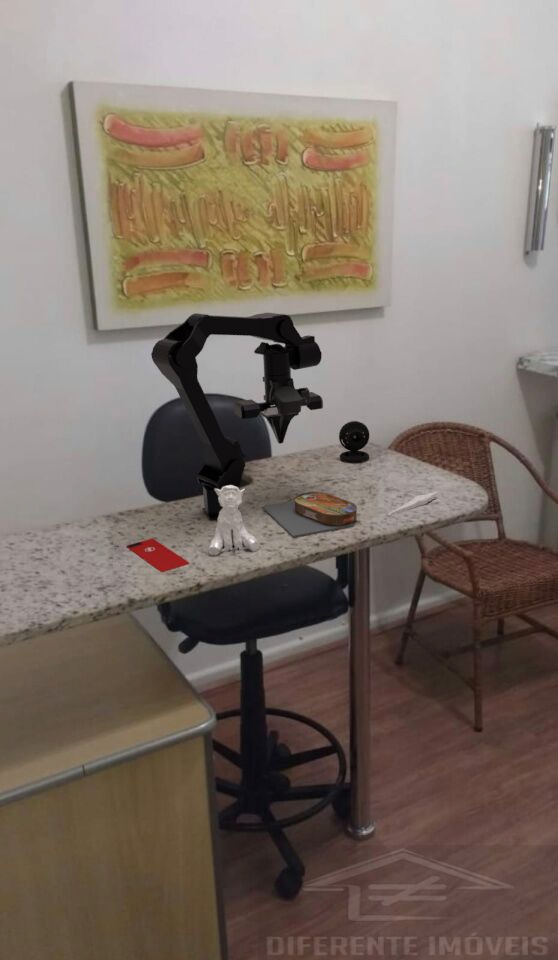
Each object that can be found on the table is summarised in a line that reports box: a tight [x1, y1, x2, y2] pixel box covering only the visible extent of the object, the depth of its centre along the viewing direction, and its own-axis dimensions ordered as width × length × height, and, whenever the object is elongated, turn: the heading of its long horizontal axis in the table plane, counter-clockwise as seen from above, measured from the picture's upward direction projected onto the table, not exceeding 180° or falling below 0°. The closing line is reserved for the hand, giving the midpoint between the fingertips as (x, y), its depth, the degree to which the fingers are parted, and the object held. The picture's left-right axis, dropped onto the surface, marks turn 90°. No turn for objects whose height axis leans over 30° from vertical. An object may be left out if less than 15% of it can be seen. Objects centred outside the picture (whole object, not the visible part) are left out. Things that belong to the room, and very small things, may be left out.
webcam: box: [338, 420, 370, 464], centre depth 190 cm, size 8×8×10 cm
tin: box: [293, 491, 358, 526], centre depth 155 cm, size 15×3×8 cm
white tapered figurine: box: [388, 490, 438, 516], centre depth 159 cm, size 15×3×2 cm, turn 128°
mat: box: [261, 500, 354, 538], centre depth 155 cm, size 13×18×1 cm
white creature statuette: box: [208, 485, 260, 557], centre depth 141 cm, size 10×9×12 cm
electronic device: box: [126, 538, 190, 573], centre depth 140 cm, size 6×1×15 cm
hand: (280, 443), depth 165 cm, fingers closed
